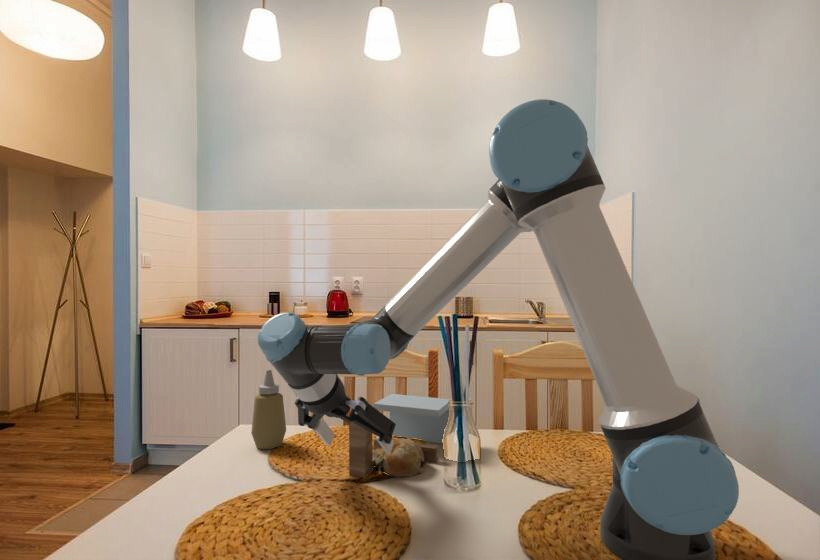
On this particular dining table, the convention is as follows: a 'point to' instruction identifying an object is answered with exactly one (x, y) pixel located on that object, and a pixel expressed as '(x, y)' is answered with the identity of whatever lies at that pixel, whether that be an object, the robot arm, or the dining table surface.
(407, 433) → the low gray box
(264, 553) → the dining table surface
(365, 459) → the wooden l-shaped post
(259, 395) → the squeeze bottle
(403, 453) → the bread roll
